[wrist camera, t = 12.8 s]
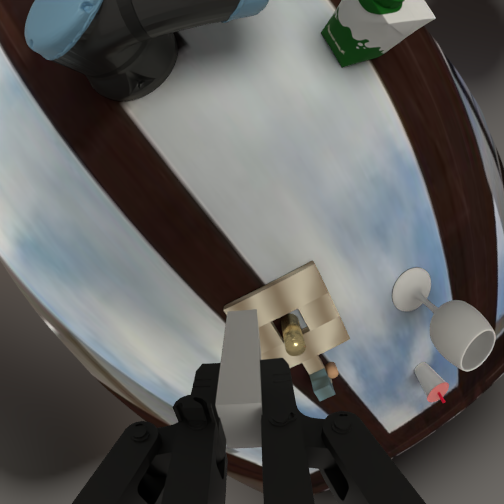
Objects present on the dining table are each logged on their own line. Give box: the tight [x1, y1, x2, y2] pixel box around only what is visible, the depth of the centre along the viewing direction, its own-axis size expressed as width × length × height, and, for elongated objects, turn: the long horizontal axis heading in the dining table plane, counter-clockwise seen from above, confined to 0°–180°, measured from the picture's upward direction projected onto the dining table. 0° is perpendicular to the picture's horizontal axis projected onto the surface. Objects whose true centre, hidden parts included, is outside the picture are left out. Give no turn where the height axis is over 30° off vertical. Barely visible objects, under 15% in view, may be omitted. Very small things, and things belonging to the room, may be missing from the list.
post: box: [281, 314, 306, 356], centre depth 45 cm, size 3×3×8 cm
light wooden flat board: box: [224, 261, 350, 401], centre depth 46 cm, size 16×24×6 cm, turn 29°
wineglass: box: [392, 268, 495, 371], centre depth 37 cm, size 9×9×21 cm
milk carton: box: [321, 0, 435, 67], centre depth 26 cm, size 9×9×20 cm
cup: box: [414, 362, 449, 403], centre depth 47 cm, size 5×5×12 cm
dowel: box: [325, 362, 339, 378], centre depth 50 cm, size 2×2×3 cm
